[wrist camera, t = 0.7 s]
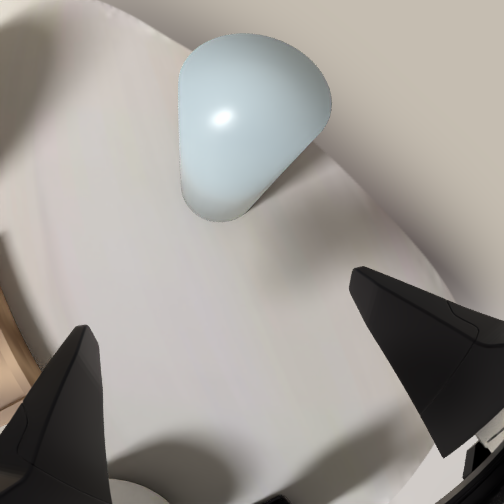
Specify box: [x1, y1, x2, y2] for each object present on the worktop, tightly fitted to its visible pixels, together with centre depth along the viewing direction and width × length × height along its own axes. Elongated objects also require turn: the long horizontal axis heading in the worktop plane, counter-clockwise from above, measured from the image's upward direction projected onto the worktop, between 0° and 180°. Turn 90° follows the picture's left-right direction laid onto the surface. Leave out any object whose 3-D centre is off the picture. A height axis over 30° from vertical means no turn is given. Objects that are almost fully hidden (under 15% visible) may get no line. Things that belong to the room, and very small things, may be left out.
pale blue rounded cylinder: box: [178, 34, 332, 222], centre depth 16 cm, size 6×6×13 cm
